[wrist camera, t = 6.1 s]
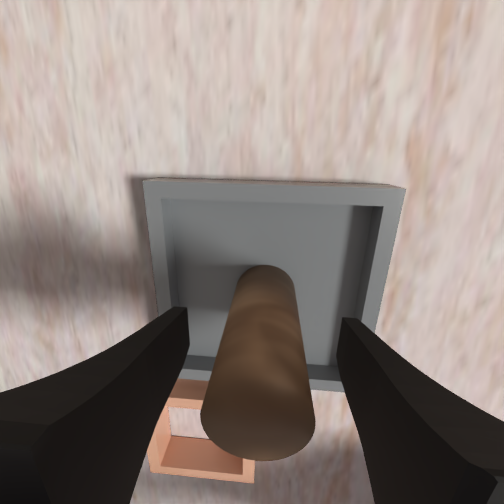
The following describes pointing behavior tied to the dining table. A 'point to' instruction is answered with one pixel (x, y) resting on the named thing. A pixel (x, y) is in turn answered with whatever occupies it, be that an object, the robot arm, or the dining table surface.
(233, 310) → the dowel
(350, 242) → the tray
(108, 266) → the dining table surface
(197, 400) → the collar
